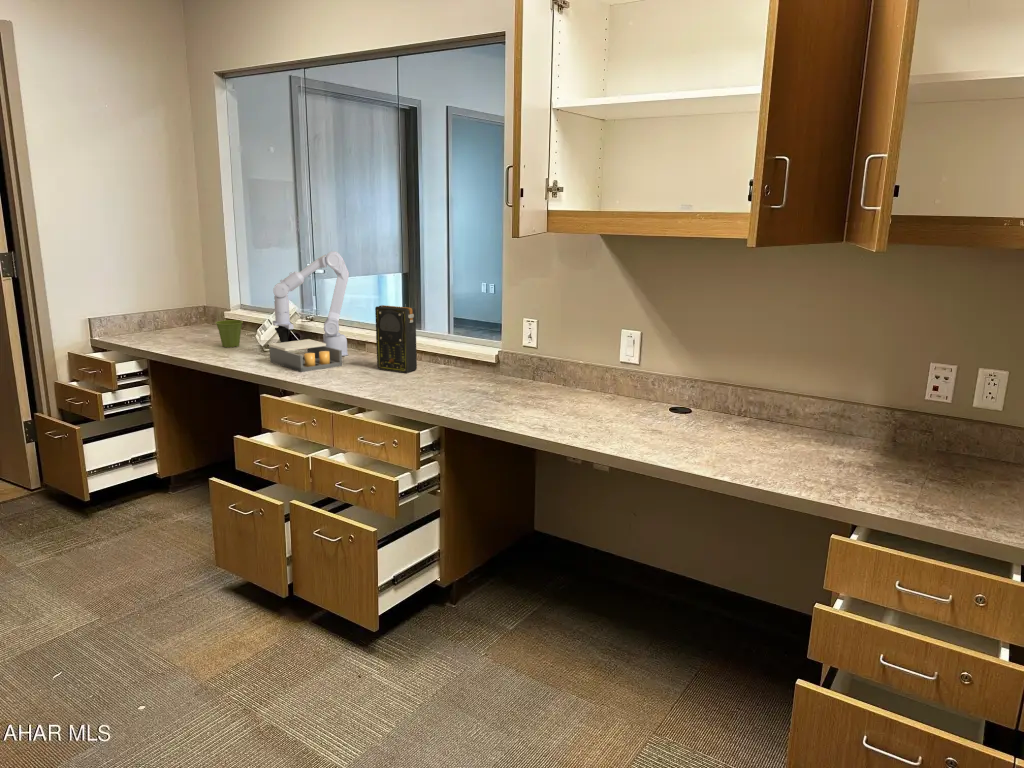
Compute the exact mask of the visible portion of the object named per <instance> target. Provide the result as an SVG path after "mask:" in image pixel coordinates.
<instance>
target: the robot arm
mask: <svg viewBox="0 0 1024 768" xmlns="http://www.w3.org/2000/svg"><path fill="white" fill-rule="evenodd" d="M327 267H330V268H331V269H332V270H333V271H334V273H335V274H336V276H337V277H336V281H335V286H334V289H333V293H332V294H333V295H332V299H331V301H330V302H331V303H330V307H329V312H328V316H327V318H326V320H325V321H324V323H323V335H322V337H323V340H322V341H323V342H322V343H326V346H327V347H330V348H334V349H338V350H342V357H343V356H349V353H348V340H347V336H346V335H345V334H344V333H343V334H342V333H341V332H339V330H340V324H339V320H340V317H341V310H342V306H343V303H344V299H345V294H346V290H347V285H348V282H349V276H350V273H349V269H348V267H347V265H346V262H345V260H344V257H342V256H341V254H340V252H338V251H335V250H331V251H329V252H328V253H327V254H324V255H323V254H322V256H319V257H318V258H317V259H315V260H314V261H313V262H311V263H310V264H309V265H306V267H304V268H303V269H302V270H300V271H294V272H293V271H292V272H289V275H288V276H286V277H285V278H284V279H280V280H279V282H278V283H277V284H275V285H274V287H273V289H272V291H273V294H274V295H273V296H274V298H273V299H274V301H273V302H274V304H273V305H274V316H275V317H274V318H275V320H272V326H276V327H274V331H275V332H276V333H277V335H278V338H279V341H280V342H279V343H281V342H289V337H290V334H291V332H292V330H294V324H293V323H292V322H291V318H290V317H291V315H290V304H289V303H290V302H289V297H288V296H289V295H288V294H289V292H293V291H294V290H296V289H297V288H298V287H300V286H302V284H304V282H305V279H306V278H307V277H308V276H310V275H311V274H313V273H314V272H316V271H318V270H319V269H320V268H321V269H322V268H327Z"/></svg>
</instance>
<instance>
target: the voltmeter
mask: <svg viewBox="0 0 1024 768" xmlns="http://www.w3.org/2000/svg"><path fill="white" fill-rule="evenodd" d="M416 310H417V309H416V308H414V307H406V306H405V307H404V306H394V305H383V304H381V305H379V306H375V310H374V311H375V312H374V313H375V340H376V344H375V346H376V366H377V367H376V368H377V369H378V370H382V371H388V372H393V373H394V372H396V373H402V374H408V373H410V372H413V371H416V370H417V368H418V364H417V363H418V362H417V361H418V358H417V354H418V353H417V321H416V320H417V319H416V317H417V316H416V315H417V311H416Z"/></svg>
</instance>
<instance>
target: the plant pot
mask: <svg viewBox="0 0 1024 768" xmlns="http://www.w3.org/2000/svg"><path fill="white" fill-rule="evenodd" d="M243 323H244V321H243V320H239V319H238V320H237V319H230V320H229V319H227V320H220V321H215V323H214V324H216V327H217V330H218V333H219V337H220V341H221V345H222V347H223V346H224V348H227V347H228V348H230V347H232V348H237V346H238V347H239V346H240V342H241V333H242V332H241V331H242V326H243ZM235 346H236V347H235Z"/></svg>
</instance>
